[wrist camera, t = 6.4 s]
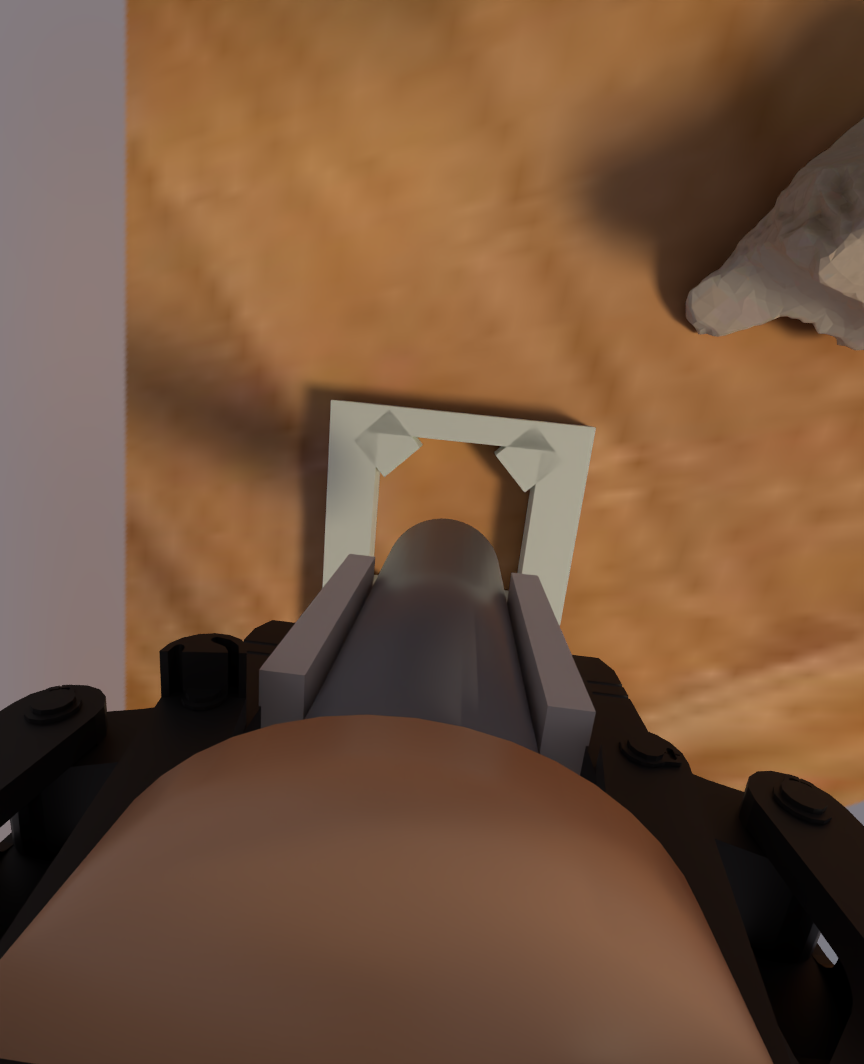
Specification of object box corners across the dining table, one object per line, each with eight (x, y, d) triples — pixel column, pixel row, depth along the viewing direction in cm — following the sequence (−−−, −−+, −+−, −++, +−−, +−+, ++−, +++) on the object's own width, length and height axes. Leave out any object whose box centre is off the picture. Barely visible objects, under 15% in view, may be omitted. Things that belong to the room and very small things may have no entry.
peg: (358, 474, 17) (-149, 803, 3) (547, 495, 17) (978, 961, 3) (347, 645, 19) (-15, 1386, 5) (520, 666, 18) (700, 1520, 4)
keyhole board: (339, 399, 24) (330, 400, 23) (588, 425, 24) (596, 427, 22) (322, 749, 29) (314, 767, 28) (525, 775, 29) (528, 795, 28)
